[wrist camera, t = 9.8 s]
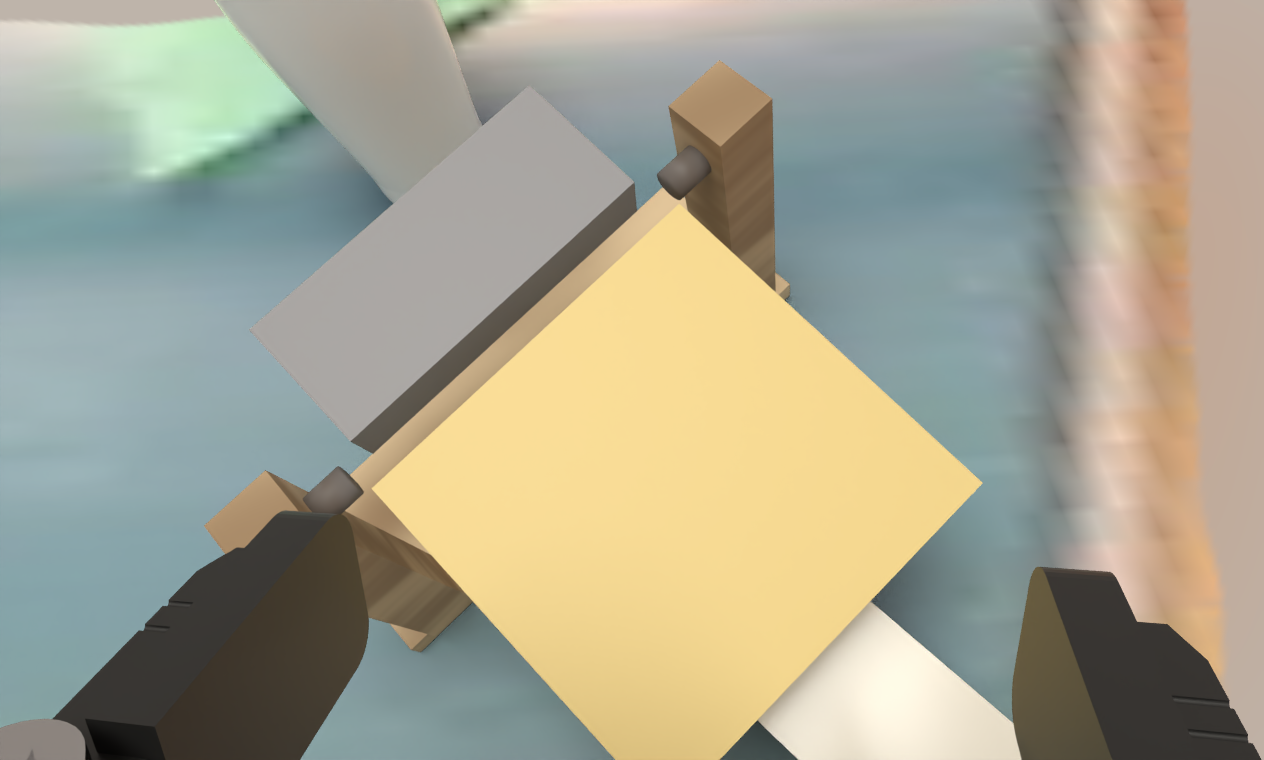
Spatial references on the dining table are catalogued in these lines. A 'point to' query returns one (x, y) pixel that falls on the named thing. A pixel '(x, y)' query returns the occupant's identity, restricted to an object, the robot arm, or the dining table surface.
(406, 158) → the drinking glass
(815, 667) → the white square pillar
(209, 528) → the frame
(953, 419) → the dining table surface
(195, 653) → the robot arm
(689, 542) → the trapdoor
